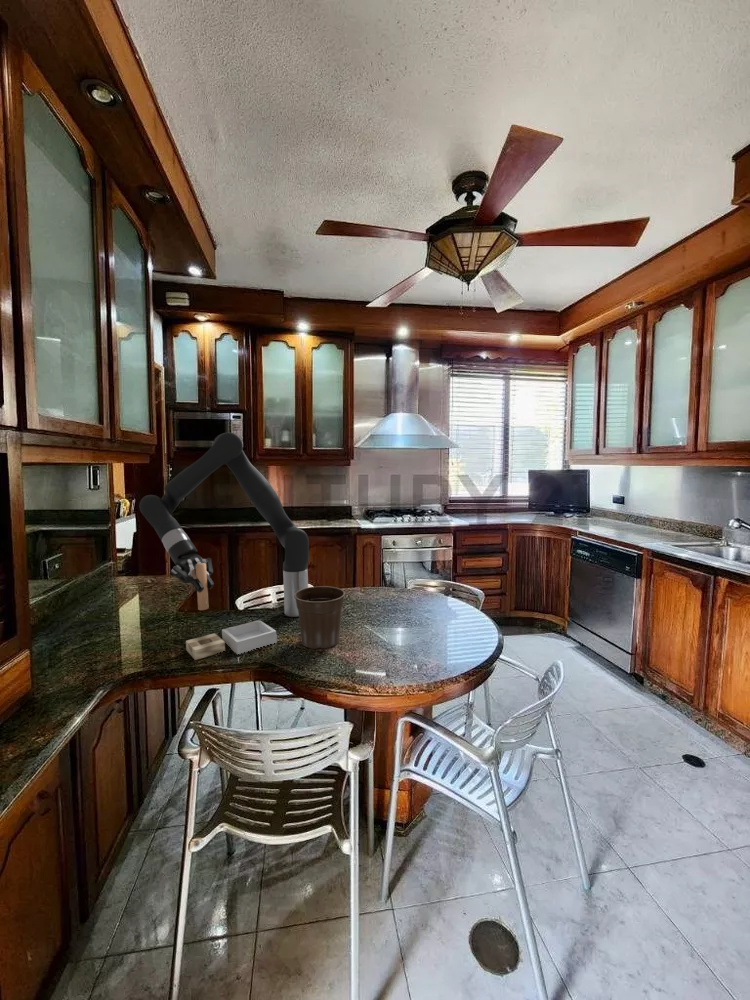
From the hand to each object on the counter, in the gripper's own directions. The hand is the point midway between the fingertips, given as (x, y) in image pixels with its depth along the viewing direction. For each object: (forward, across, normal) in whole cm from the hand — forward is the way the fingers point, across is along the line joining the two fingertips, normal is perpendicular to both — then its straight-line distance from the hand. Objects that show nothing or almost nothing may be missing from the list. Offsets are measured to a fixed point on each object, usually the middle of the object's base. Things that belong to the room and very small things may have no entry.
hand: (206, 588), depth 132 cm
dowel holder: (+13, 0, +16) cm, 20 cm away
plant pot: (+33, +23, -4) cm, 40 cm away
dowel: (+3, 0, +6) cm, 7 cm away
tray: (+18, +11, +10) cm, 24 cm away
